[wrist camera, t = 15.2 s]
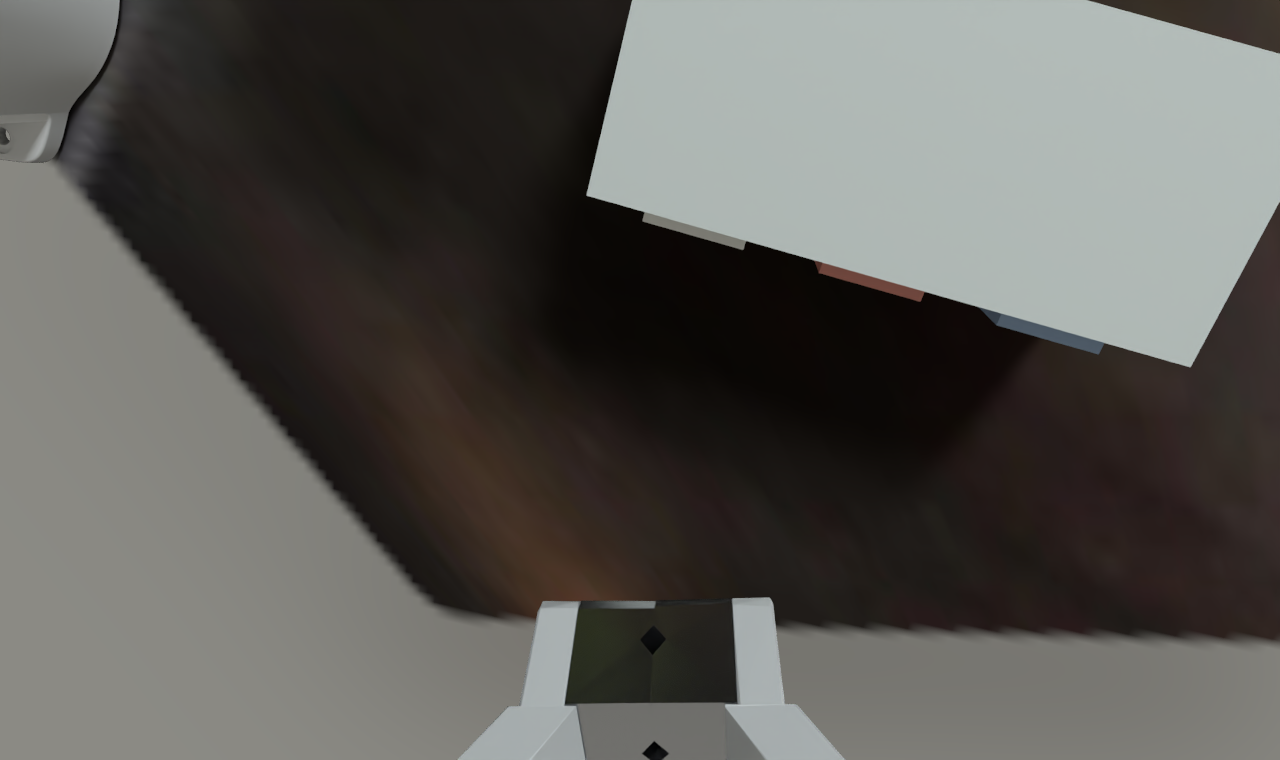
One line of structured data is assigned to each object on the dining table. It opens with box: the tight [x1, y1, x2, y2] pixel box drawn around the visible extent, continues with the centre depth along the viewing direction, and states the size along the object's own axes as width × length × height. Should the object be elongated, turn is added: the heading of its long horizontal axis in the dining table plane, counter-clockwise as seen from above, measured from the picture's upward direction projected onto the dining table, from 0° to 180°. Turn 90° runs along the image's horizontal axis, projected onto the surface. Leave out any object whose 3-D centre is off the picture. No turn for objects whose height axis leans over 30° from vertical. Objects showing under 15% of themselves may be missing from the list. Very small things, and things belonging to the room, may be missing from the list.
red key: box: [814, 260, 924, 302], centre depth 33 cm, size 4×3×4 cm
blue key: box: [979, 307, 1104, 354], centre depth 33 cm, size 4×3×4 cm
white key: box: [642, 212, 746, 250], centre depth 33 cm, size 4×3×4 cm
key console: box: [586, 0, 1280, 367], centre depth 33 cm, size 22×10×11 cm, turn 75°
